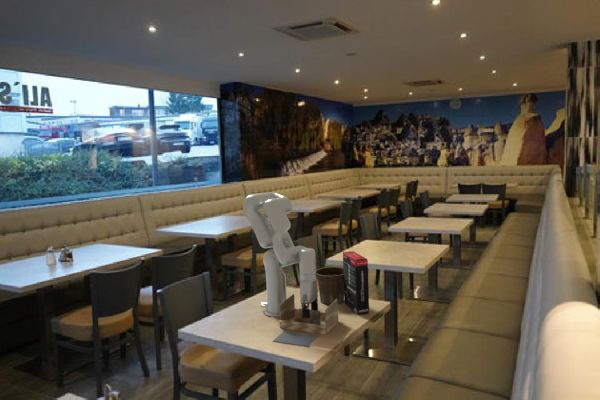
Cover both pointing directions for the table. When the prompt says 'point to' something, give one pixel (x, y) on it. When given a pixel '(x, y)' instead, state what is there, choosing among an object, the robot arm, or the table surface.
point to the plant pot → (331, 284)
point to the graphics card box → (356, 282)
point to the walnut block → (312, 320)
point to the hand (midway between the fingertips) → (310, 314)
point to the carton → (289, 322)
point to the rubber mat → (295, 339)
